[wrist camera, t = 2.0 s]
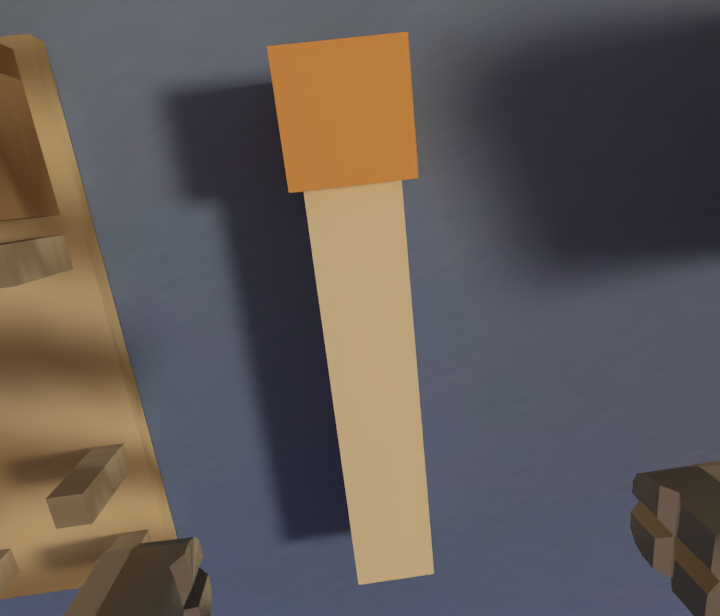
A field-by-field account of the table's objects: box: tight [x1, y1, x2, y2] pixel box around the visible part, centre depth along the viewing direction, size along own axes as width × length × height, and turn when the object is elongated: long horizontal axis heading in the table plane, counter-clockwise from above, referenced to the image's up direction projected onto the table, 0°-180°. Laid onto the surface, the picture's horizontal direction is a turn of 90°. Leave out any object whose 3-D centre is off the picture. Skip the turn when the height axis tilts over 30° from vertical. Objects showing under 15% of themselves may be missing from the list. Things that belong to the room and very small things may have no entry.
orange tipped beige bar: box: [267, 32, 434, 585], centre depth 21 cm, size 25×5×5 cm, turn 6°
